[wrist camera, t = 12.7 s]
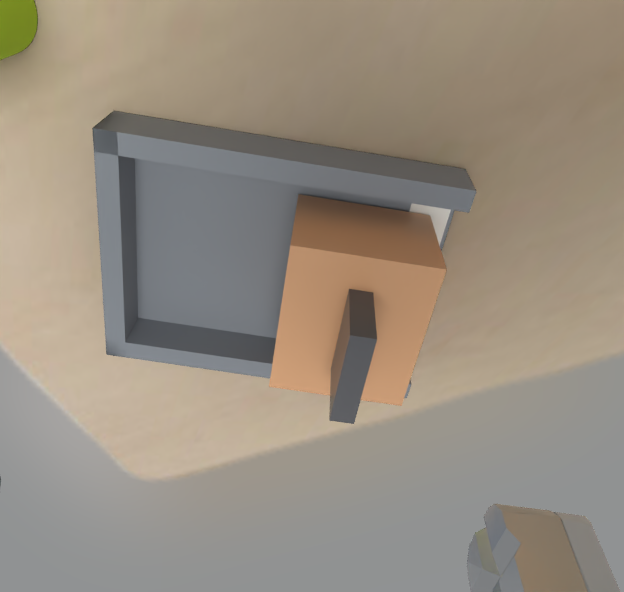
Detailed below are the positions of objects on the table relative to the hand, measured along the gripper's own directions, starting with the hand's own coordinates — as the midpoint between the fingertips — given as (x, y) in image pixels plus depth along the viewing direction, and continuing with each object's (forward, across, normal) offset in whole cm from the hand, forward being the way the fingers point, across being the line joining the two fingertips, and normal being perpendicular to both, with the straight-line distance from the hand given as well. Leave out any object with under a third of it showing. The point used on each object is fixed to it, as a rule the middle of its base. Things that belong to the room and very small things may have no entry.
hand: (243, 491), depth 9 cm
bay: (+34, +1, +15) cm, 37 cm away
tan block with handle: (+33, -5, +15) cm, 37 cm away
